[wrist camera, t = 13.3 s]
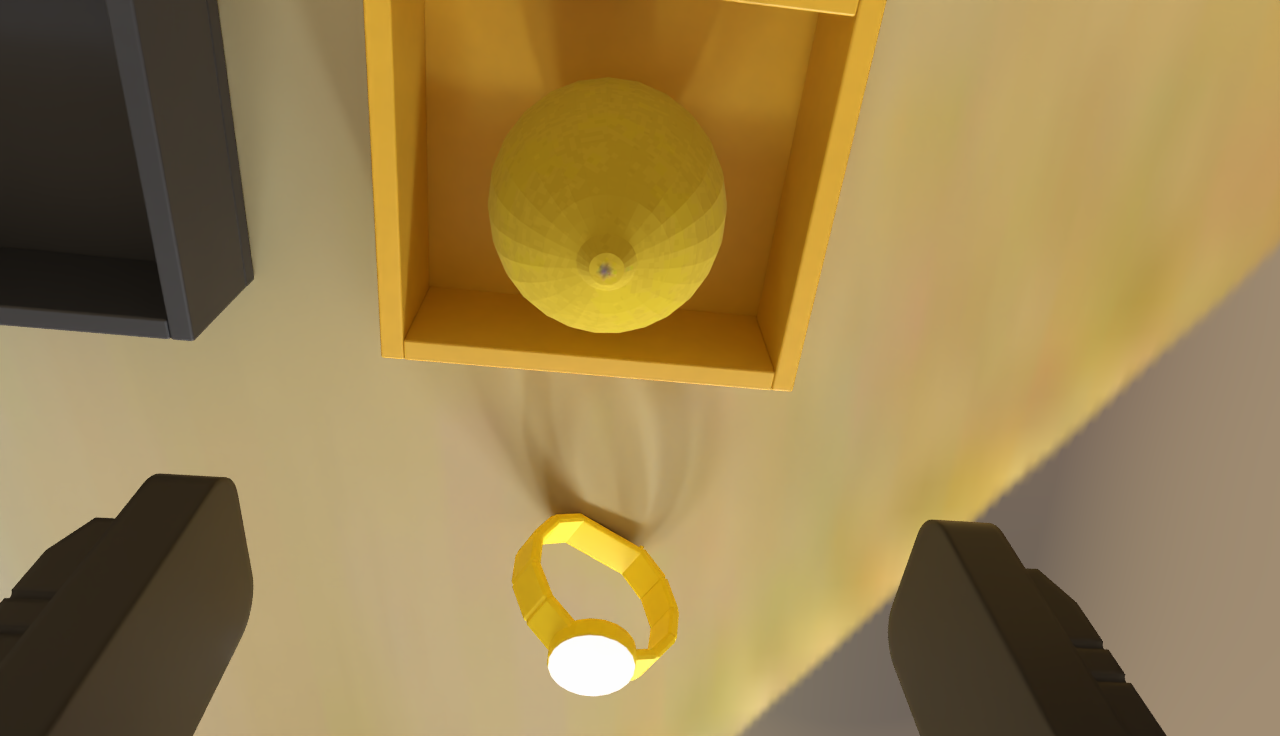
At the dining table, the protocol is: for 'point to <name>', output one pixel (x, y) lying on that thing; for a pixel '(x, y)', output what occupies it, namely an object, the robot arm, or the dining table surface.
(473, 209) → the yellow bin
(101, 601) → the robot arm
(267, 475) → the dining table surface
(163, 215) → the grey bin
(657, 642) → the watch
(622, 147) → the lemon
